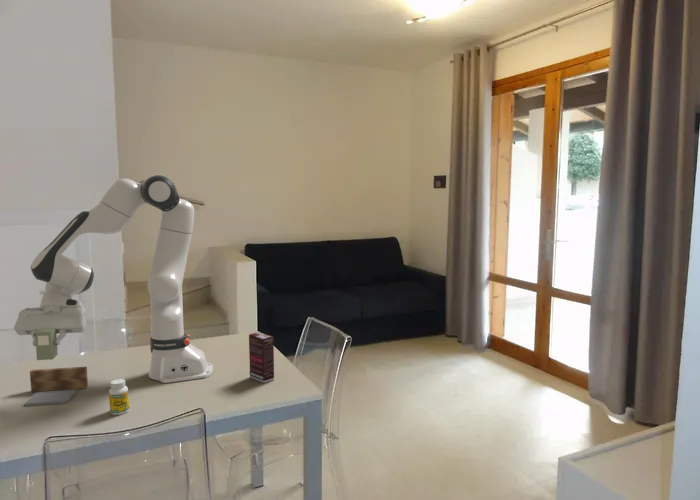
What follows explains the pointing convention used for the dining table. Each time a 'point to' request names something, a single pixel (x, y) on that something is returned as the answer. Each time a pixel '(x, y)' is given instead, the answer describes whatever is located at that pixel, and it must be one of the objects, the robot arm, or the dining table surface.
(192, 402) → the dining table surface
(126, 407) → the supplement bottle
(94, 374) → the dining table surface
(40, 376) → the walnut screen
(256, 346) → the supplement box
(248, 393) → the dining table surface
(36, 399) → the display mat
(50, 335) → the olive letter block
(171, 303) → the robot arm
